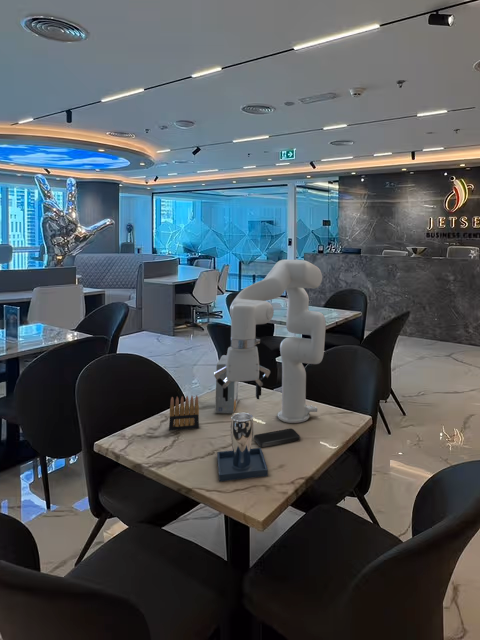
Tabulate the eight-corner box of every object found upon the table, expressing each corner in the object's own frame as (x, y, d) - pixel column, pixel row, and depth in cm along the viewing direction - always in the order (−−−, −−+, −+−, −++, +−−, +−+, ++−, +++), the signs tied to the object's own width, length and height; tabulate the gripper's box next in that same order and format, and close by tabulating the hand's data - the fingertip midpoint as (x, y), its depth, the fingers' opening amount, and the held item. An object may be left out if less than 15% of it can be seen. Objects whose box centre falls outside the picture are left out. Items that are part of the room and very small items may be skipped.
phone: (300, 436, 154) (260, 444, 148) (300, 440, 154) (260, 447, 148) (292, 427, 161) (253, 434, 155) (292, 431, 161) (253, 437, 155)
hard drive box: (234, 414, 176) (234, 364, 176) (214, 414, 176) (215, 364, 176) (238, 400, 192) (239, 354, 192) (220, 400, 192) (221, 354, 192)
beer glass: (254, 460, 139) (255, 413, 139) (250, 471, 132) (250, 422, 132) (233, 458, 139) (234, 411, 140) (227, 470, 133) (228, 420, 133)
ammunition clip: (198, 426, 165) (199, 394, 165) (198, 428, 163) (199, 395, 163) (169, 428, 162) (169, 396, 162) (168, 430, 160) (169, 397, 160)
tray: (260, 453, 144) (261, 447, 144) (267, 475, 130) (267, 469, 130) (217, 457, 141) (217, 451, 141) (219, 481, 127) (219, 475, 127)
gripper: (268, 339, 141) (267, 393, 141) (214, 341, 137) (213, 396, 137) (272, 345, 134) (271, 401, 134) (215, 347, 130) (213, 405, 130)
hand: (242, 398), depth 136 cm, fingers open, 9 cm apart
